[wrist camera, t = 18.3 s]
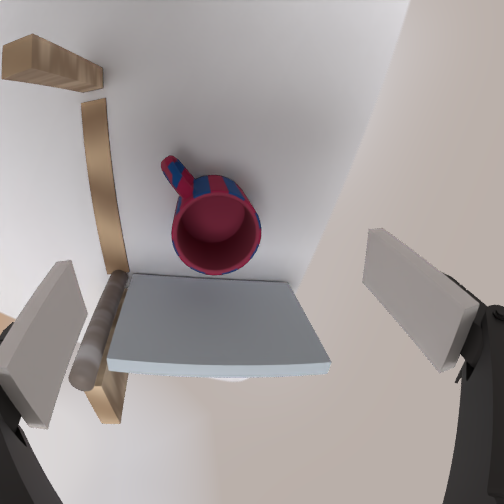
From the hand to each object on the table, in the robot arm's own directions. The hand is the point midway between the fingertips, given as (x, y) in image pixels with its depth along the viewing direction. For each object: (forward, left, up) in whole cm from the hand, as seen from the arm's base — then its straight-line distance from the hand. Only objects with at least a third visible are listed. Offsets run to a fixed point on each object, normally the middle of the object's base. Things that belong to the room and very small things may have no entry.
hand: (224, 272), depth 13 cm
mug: (+1, 0, -18) cm, 18 cm away
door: (+10, -1, -17) cm, 20 cm away
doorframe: (+1, -10, -17) cm, 20 cm away
